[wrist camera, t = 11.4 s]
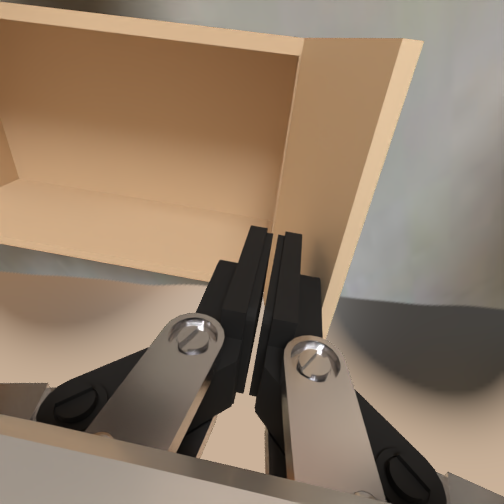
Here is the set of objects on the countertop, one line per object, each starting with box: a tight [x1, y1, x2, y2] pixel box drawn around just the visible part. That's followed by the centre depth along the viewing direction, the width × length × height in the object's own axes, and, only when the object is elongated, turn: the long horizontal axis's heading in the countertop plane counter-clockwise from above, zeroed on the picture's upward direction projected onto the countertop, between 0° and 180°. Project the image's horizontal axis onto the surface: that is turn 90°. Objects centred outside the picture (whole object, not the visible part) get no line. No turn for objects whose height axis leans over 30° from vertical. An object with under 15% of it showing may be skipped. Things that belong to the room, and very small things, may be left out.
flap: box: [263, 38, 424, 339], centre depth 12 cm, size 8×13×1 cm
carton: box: [0, 2, 304, 288], centre depth 21 cm, size 24×13×9 cm, turn 84°
